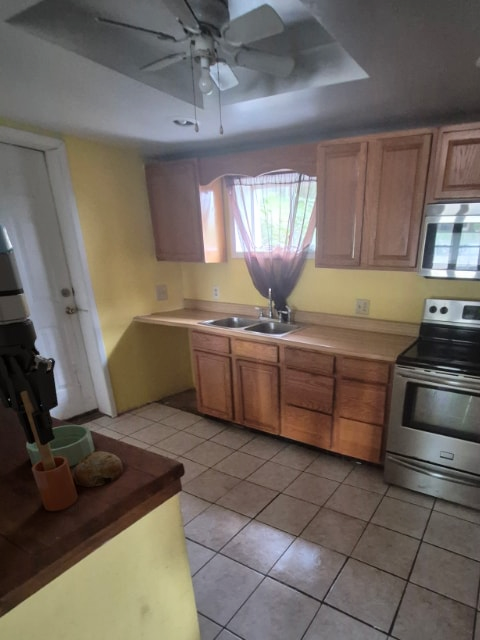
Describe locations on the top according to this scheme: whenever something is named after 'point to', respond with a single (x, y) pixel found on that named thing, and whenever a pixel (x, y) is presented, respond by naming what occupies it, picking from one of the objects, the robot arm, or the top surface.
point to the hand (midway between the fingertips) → (41, 440)
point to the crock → (55, 484)
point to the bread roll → (97, 469)
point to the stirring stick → (43, 449)
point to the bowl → (66, 444)
